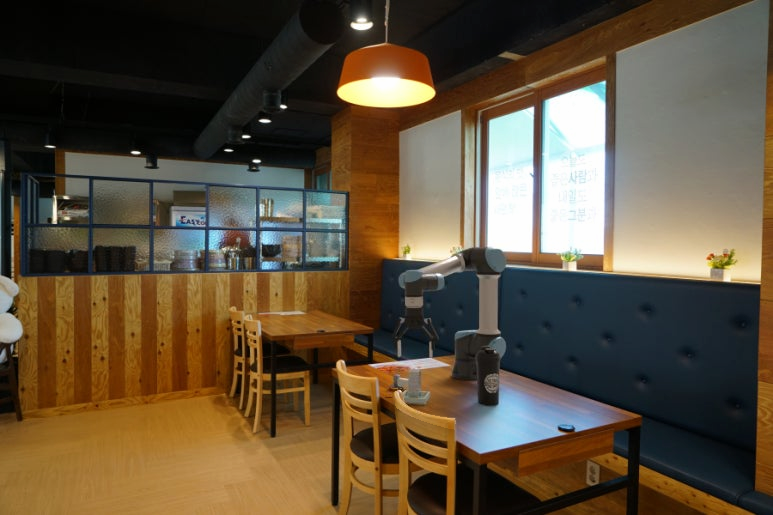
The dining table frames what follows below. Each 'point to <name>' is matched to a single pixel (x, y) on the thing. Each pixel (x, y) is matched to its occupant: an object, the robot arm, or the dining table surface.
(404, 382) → the crank
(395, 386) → the crank base
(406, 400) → the tray
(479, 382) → the water bottle
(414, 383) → the white upright block
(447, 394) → the dining table surface
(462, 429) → the dining table surface
